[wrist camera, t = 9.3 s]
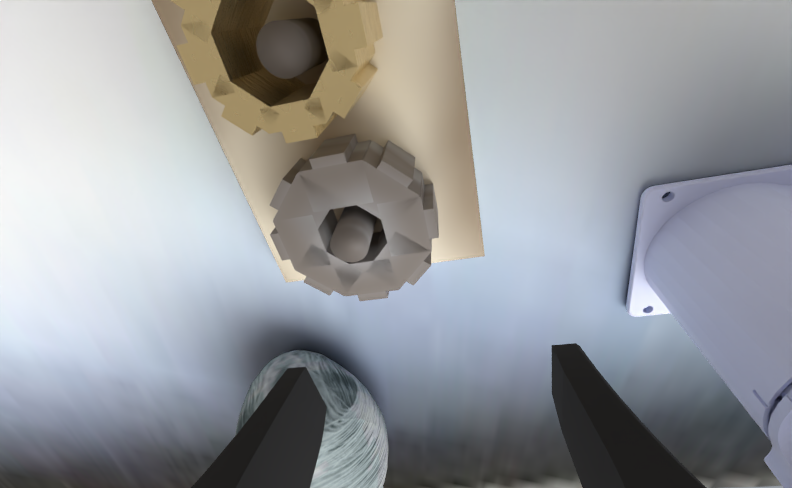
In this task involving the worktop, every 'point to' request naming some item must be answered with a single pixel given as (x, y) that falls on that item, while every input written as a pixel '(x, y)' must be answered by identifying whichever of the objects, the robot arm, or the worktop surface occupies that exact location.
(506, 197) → the worktop surface
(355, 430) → the spool
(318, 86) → the brass gear
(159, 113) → the worktop surface
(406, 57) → the gear board
